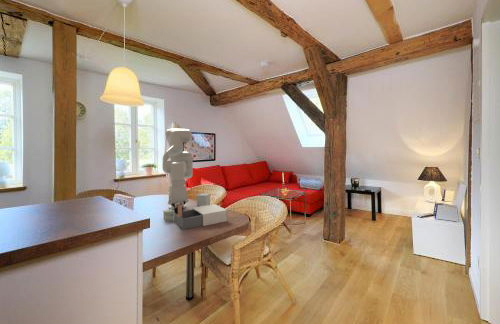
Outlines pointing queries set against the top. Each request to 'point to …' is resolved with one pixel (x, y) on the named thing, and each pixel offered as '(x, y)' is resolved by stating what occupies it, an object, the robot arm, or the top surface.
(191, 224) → the tray
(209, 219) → the white drawer housing
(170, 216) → the sage block
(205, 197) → the supplement box
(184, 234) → the top surface
